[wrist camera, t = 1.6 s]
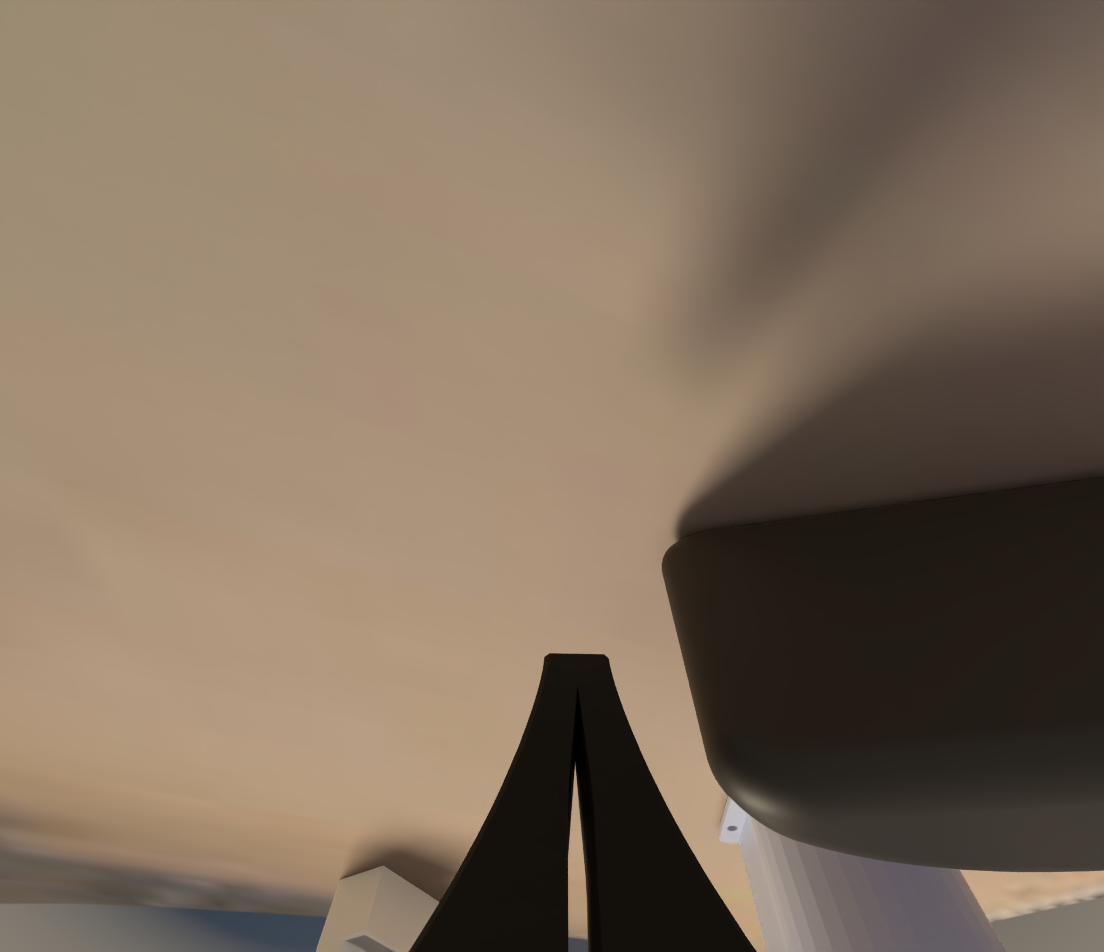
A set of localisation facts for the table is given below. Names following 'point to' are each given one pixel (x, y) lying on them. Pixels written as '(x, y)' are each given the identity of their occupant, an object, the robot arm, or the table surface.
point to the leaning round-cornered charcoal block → (908, 676)
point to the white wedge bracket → (375, 914)
